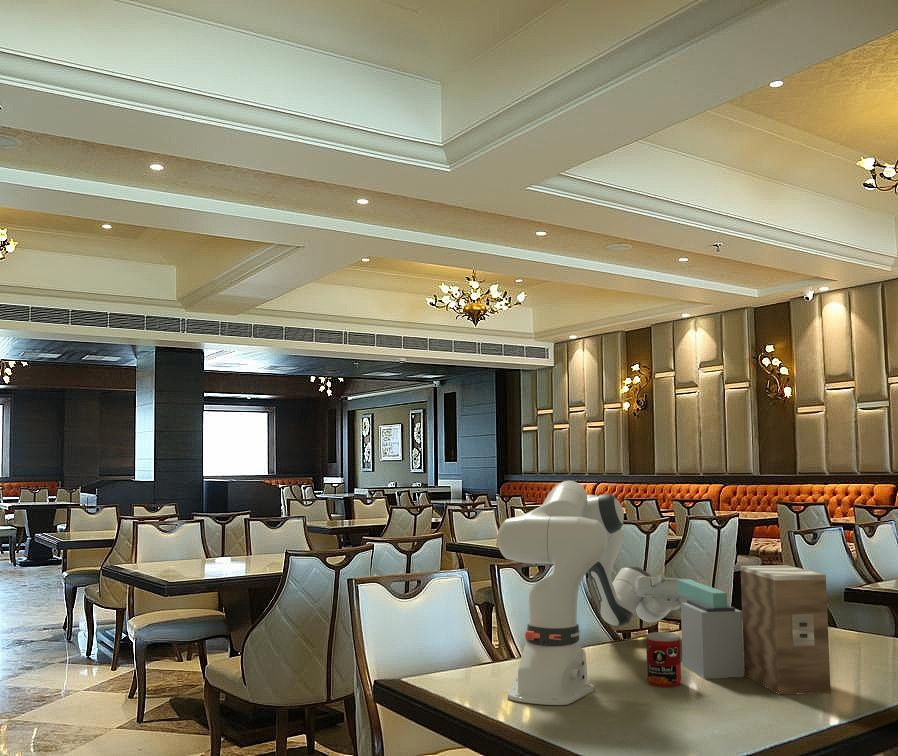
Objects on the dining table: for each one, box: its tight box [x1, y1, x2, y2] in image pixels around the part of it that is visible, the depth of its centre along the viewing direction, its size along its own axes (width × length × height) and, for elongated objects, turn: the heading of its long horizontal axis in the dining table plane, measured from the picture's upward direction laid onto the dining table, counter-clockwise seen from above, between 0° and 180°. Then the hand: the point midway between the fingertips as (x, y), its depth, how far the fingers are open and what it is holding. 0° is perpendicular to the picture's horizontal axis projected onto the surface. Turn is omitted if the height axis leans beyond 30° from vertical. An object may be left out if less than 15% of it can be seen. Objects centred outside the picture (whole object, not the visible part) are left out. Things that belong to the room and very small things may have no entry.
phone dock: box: [680, 600, 745, 680], centre depth 220 cm, size 14×10×16 cm
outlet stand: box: [740, 564, 832, 695], centre depth 207 cm, size 19×12×26 cm, turn 6°
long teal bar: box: [677, 579, 728, 608], centre depth 227 cm, size 24×4×4 cm, turn 6°
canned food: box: [645, 631, 682, 688], centre depth 208 cm, size 8×8×11 cm
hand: (679, 578), depth 243 cm, fingers open, 8 cm apart
